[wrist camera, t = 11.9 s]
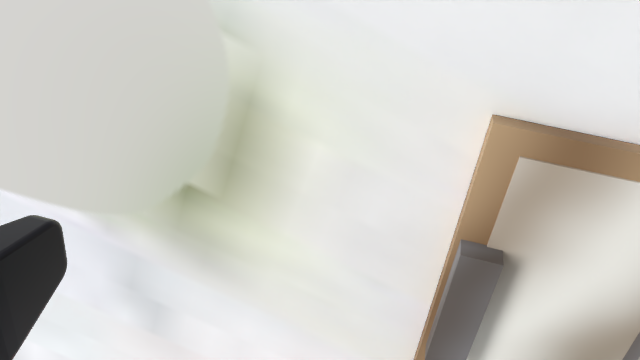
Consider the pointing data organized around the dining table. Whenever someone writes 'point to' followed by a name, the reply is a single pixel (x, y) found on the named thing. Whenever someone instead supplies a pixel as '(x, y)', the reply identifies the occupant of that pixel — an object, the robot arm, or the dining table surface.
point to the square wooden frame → (542, 252)
